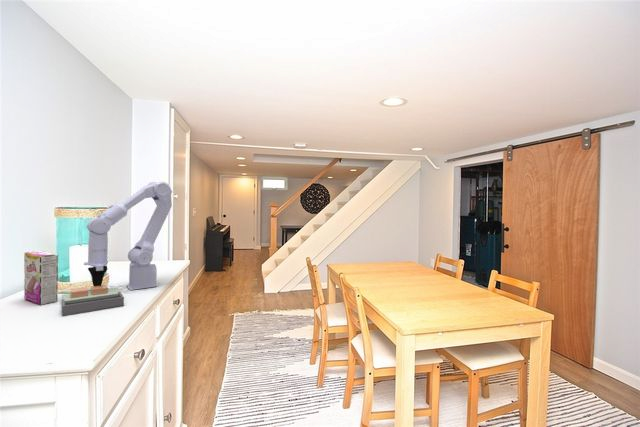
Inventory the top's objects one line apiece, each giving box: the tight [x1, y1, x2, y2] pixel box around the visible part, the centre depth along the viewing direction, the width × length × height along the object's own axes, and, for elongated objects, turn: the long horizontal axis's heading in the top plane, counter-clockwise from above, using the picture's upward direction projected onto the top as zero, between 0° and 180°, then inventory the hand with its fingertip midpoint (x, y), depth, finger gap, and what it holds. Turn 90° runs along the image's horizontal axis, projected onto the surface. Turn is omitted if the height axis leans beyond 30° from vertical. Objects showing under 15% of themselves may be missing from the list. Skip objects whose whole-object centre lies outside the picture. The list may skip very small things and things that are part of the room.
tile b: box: [69, 286, 89, 298], centre depth 101 cm, size 4×4×2 cm
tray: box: [61, 290, 125, 317], centre depth 96 cm, size 16×8×3 cm, turn 132°
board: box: [61, 287, 121, 303], centre depth 103 cm, size 16×8×2 cm, turn 132°
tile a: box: [90, 284, 109, 295], centre depth 104 cm, size 4×4×2 cm
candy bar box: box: [23, 250, 59, 306], centre depth 100 cm, size 11×5×16 cm, turn 65°
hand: (97, 286), depth 109 cm, fingers closed
